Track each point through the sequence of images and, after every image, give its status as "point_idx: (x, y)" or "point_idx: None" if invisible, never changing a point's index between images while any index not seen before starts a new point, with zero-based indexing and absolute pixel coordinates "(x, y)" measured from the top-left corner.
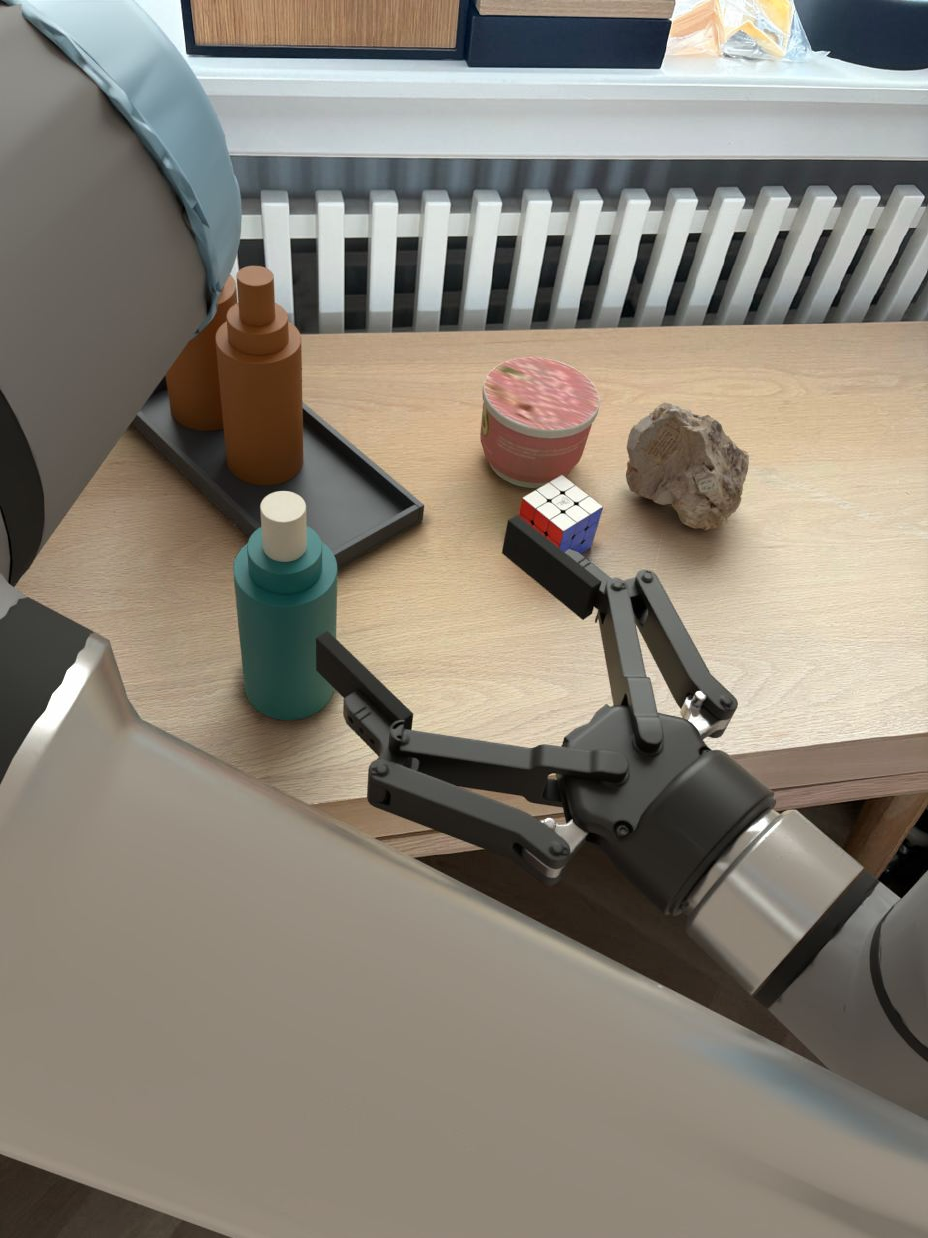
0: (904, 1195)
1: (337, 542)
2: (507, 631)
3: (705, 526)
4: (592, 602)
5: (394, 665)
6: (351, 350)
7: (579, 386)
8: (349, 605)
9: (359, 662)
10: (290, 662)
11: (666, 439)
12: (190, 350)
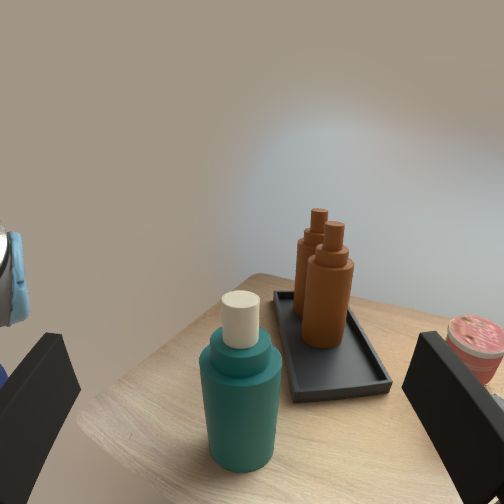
0: None
1: (331, 386)
2: (404, 476)
3: None
4: (499, 489)
5: (314, 470)
6: (392, 308)
7: (500, 334)
8: (313, 422)
9: (28, 377)
10: (219, 428)
11: None
12: (304, 270)
